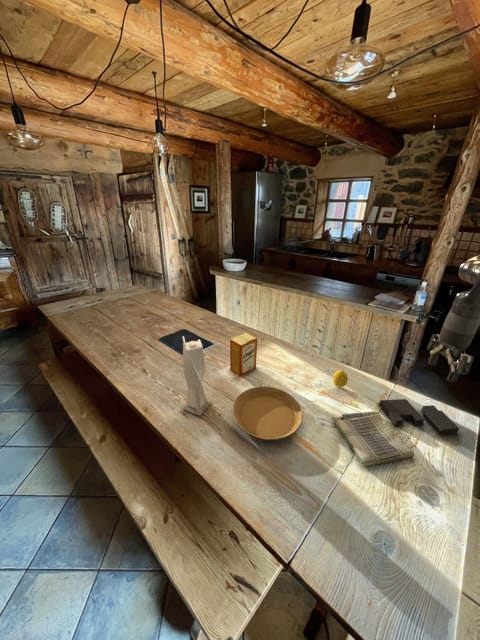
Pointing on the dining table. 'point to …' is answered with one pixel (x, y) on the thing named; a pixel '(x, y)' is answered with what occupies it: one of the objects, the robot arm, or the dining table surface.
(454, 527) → the dining table surface
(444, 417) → the pad
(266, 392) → the plant saucer
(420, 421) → the notch pad
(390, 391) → the dining table surface
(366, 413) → the dish towel
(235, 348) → the baking soda box
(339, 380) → the lemon
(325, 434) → the dining table surface
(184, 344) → the skyscraper
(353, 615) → the dining table surface
